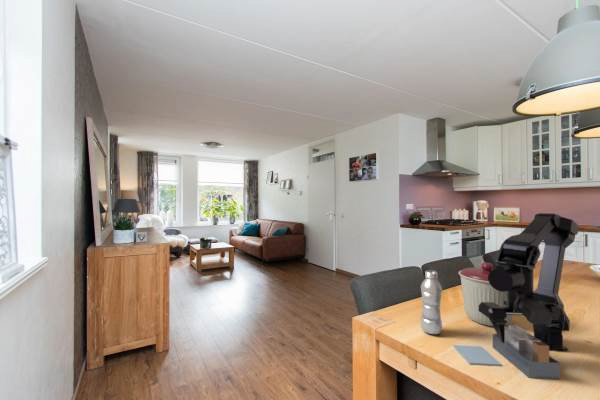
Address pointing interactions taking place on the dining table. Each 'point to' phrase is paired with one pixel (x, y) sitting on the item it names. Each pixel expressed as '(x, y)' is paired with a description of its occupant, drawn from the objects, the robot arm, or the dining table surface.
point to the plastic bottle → (431, 303)
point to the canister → (480, 293)
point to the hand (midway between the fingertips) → (520, 343)
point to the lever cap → (519, 338)
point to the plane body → (529, 359)
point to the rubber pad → (476, 355)
